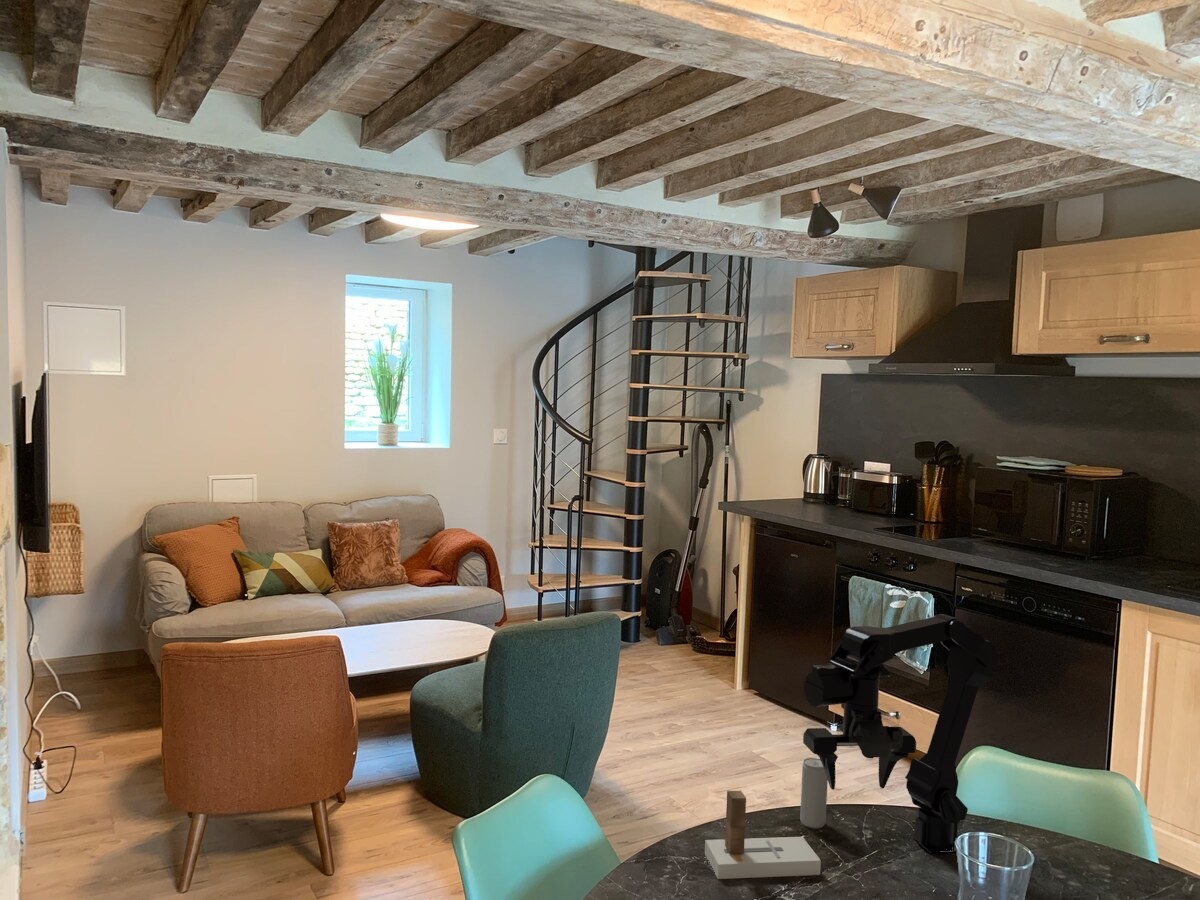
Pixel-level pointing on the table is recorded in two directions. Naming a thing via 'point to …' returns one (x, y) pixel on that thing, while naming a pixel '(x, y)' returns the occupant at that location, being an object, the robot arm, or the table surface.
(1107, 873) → the table surface
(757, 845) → the fader console
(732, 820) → the lever
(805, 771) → the beverage can
